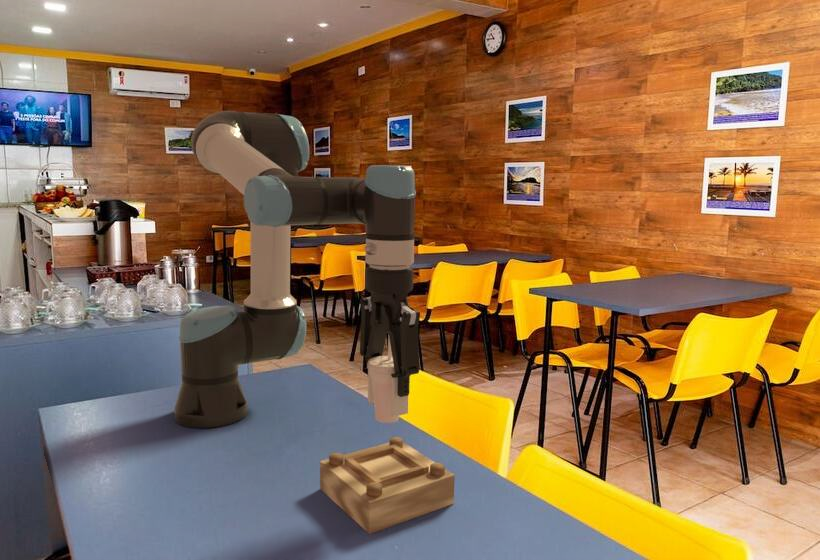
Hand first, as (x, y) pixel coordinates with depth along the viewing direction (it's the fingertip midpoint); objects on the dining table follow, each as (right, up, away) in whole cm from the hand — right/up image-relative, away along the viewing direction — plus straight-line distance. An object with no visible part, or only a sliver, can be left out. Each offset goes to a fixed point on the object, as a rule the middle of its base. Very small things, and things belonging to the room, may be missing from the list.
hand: (387, 407), depth 101 cm
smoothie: (0, -2, 0) cm, 2 cm away
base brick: (0, -15, +3) cm, 16 cm away
